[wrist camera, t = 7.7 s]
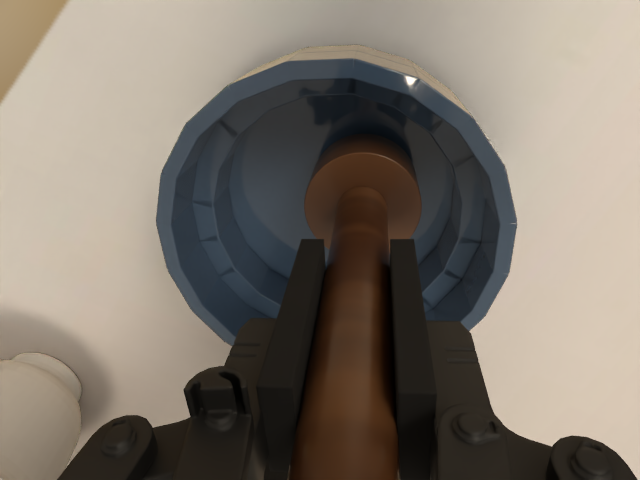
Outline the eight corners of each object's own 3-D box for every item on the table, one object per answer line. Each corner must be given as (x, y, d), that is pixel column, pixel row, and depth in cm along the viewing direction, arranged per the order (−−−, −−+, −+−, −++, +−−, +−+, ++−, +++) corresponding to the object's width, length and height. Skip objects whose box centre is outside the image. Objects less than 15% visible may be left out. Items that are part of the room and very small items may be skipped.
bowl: (178, 51, 23) (117, 68, 17) (502, 36, 21) (546, 50, 16) (224, 307, 30) (191, 373, 24) (469, 312, 28) (491, 386, 23)
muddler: (308, 134, 22) (82, 602, 5) (418, 131, 21) (581, 655, 4) (315, 231, 25) (177, 768, 8) (414, 230, 24) (509, 816, 7)
